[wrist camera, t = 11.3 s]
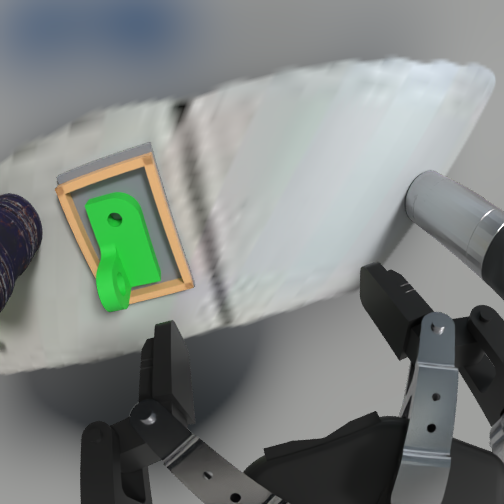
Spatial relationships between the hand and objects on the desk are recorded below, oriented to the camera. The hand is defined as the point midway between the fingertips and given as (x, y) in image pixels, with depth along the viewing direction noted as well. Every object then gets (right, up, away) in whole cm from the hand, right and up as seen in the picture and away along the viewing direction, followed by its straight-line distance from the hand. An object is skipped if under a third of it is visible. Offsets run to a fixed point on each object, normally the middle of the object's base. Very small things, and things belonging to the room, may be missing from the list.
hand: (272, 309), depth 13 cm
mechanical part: (-16, +4, +24) cm, 29 cm away
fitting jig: (-16, +5, +24) cm, 30 cm away
